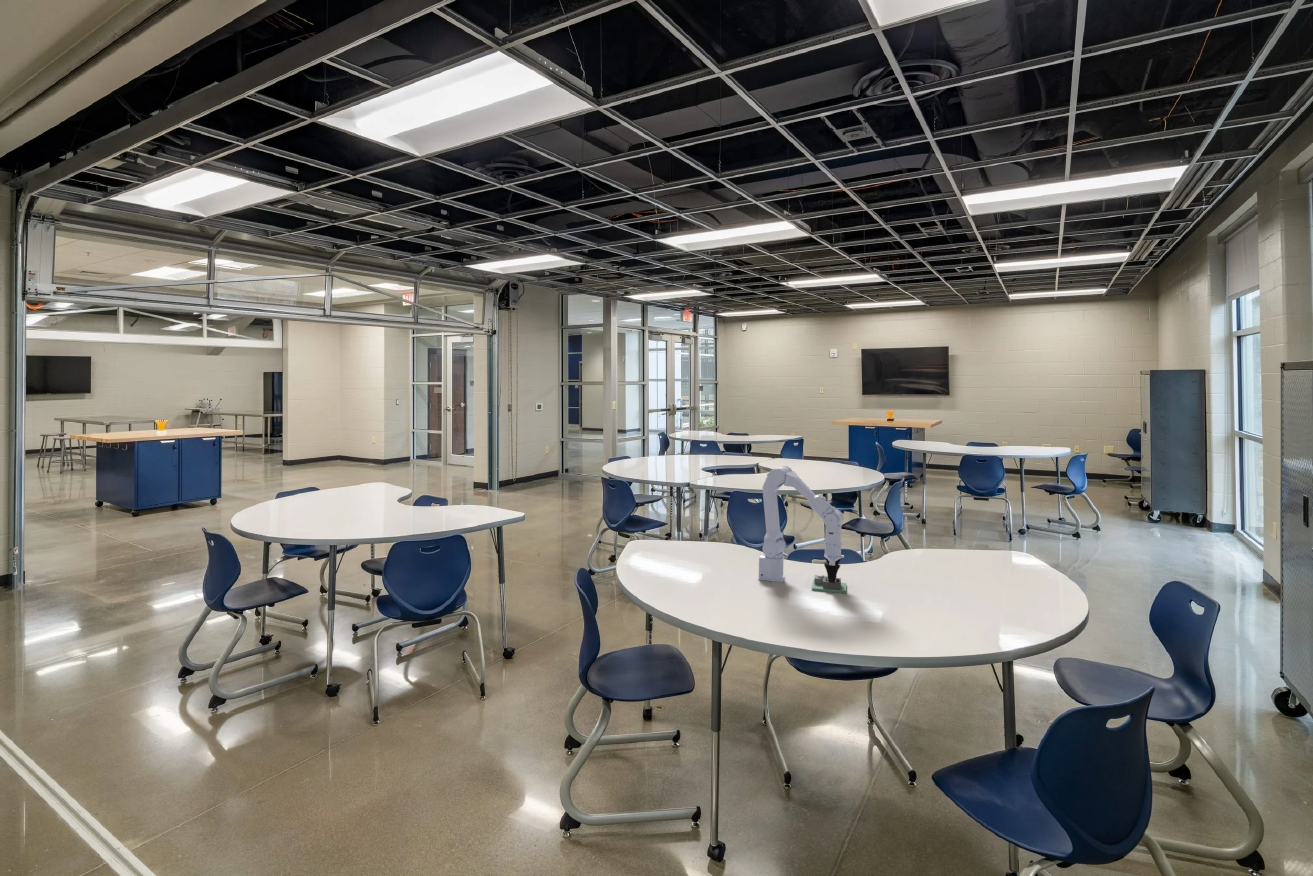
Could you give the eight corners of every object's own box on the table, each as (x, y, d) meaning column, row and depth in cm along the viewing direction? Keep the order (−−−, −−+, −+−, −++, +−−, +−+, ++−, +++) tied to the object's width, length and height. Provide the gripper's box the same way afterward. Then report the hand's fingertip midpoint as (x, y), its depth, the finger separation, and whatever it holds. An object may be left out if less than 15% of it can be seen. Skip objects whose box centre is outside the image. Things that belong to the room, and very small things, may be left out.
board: (811, 590, 226) (812, 580, 226) (813, 581, 236) (813, 572, 235) (845, 593, 223) (846, 583, 222) (846, 585, 232) (846, 575, 232)
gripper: (844, 549, 218) (843, 586, 220) (844, 539, 232) (843, 574, 233) (823, 547, 220) (822, 584, 222) (825, 537, 234) (824, 572, 235)
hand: (832, 579), depth 228 cm, fingers open, 7 cm apart
